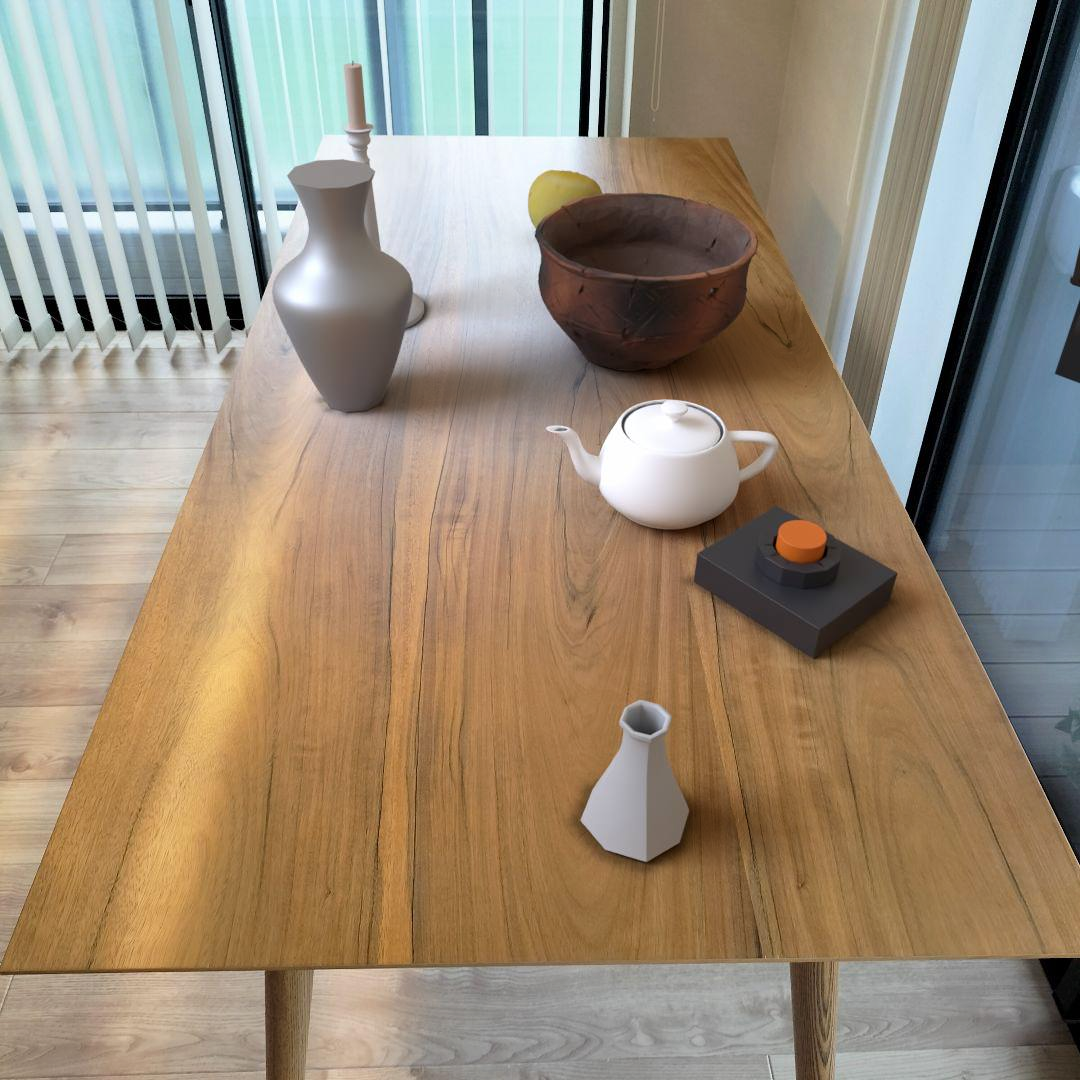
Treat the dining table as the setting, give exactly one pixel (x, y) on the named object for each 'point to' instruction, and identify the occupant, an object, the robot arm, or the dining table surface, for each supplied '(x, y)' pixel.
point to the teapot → (668, 463)
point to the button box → (794, 583)
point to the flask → (638, 790)
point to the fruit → (557, 192)
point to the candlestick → (367, 160)
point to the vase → (342, 290)
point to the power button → (801, 541)
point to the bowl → (642, 275)
